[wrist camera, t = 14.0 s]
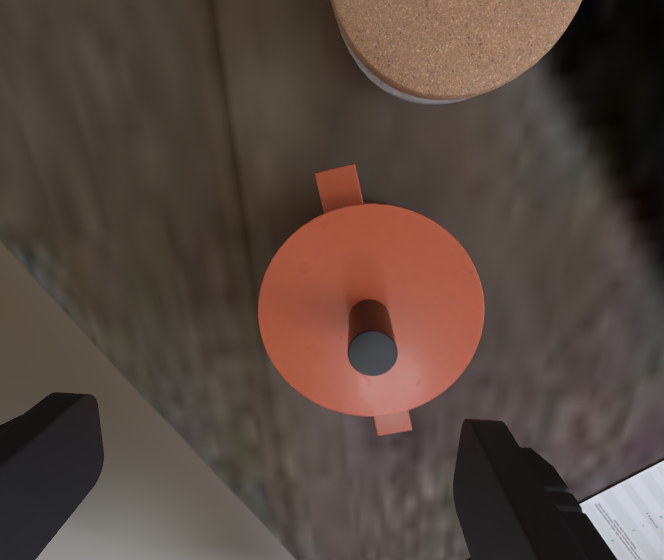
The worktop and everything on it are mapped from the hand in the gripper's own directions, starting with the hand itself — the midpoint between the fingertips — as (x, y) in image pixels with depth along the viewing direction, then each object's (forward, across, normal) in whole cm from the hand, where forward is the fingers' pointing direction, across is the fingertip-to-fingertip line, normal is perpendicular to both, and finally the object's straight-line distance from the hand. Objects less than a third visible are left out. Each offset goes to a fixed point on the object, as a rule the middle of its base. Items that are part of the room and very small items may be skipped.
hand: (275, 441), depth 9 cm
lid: (+15, -3, +3) cm, 16 cm away
